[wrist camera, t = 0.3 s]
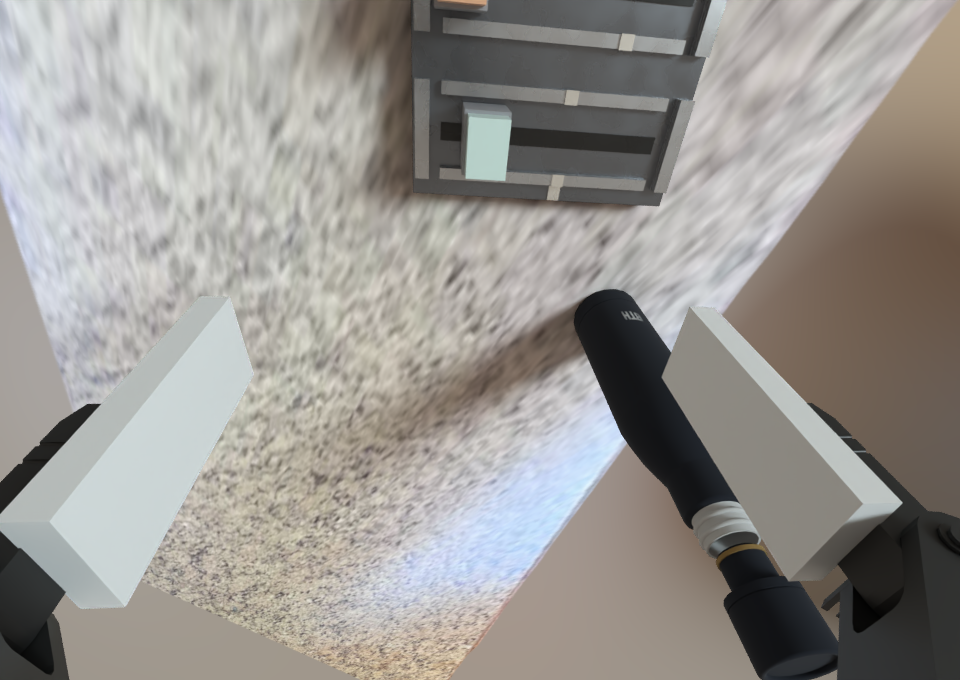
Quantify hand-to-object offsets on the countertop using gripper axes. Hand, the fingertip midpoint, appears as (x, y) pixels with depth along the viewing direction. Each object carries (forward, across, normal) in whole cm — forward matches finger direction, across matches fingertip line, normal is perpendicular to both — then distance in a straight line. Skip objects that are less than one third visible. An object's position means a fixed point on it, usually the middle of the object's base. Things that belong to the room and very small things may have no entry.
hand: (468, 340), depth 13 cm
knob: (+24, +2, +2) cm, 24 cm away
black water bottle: (+26, +16, -15) cm, 34 cm away
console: (+26, +7, +6) cm, 27 cm away
